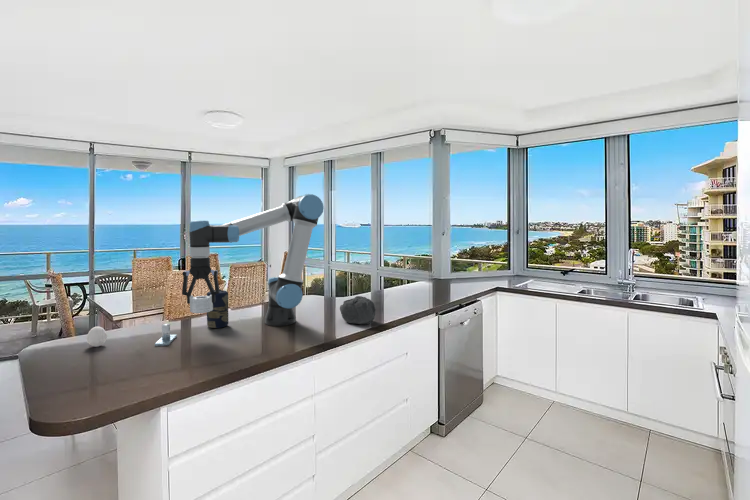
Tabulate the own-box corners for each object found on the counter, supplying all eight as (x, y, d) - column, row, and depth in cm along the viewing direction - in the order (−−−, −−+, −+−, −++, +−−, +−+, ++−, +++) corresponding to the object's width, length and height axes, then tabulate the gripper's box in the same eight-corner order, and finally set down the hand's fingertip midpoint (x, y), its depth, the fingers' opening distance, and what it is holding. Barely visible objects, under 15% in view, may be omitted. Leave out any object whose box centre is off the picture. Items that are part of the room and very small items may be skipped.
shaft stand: (176, 336, 162) (176, 320, 161) (168, 345, 150) (168, 328, 150) (163, 337, 161) (163, 321, 160) (154, 346, 149) (154, 328, 149)
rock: (332, 298, 192) (353, 289, 202) (336, 323, 195) (356, 313, 206) (361, 306, 177) (382, 295, 188) (365, 333, 180) (385, 321, 191)
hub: (211, 309, 164) (211, 295, 164) (209, 312, 157) (208, 298, 157) (194, 309, 163) (194, 296, 162) (190, 313, 156) (190, 299, 155)
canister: (220, 330, 173) (220, 291, 172) (202, 328, 175) (202, 290, 174) (232, 324, 183) (232, 288, 182) (215, 323, 185) (214, 287, 183)
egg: (89, 344, 149) (89, 325, 149) (109, 343, 152) (108, 323, 151) (84, 349, 143) (84, 329, 143) (104, 347, 146) (104, 327, 145)
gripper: (226, 255, 164) (227, 307, 166) (176, 256, 160) (178, 309, 161) (224, 257, 157) (225, 311, 159) (171, 258, 152) (173, 313, 154)
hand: (201, 310), depth 160 cm, fingers closed on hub, 7 cm apart
